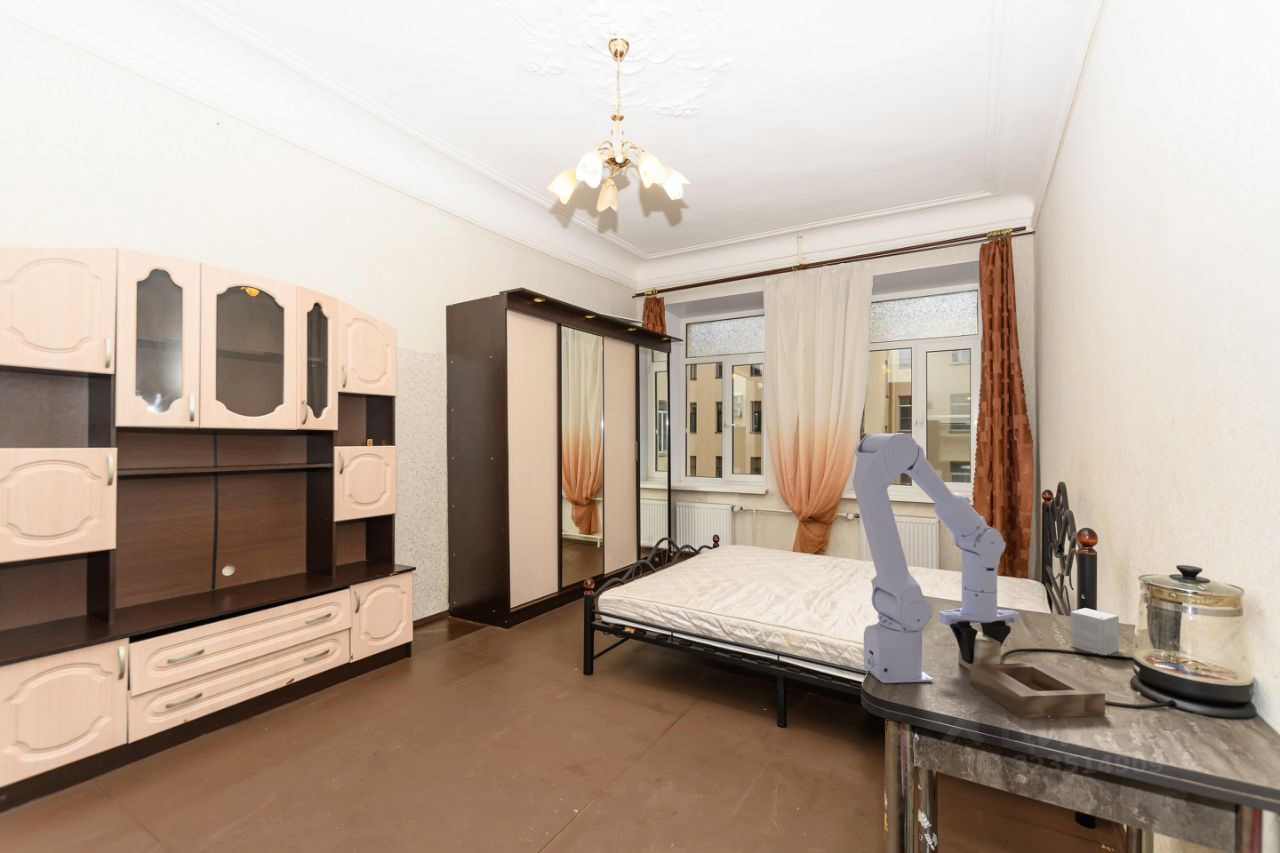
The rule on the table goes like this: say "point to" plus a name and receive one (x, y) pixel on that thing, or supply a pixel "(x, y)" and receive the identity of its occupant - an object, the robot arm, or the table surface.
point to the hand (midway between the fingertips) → (978, 661)
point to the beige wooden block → (983, 651)
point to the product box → (1095, 631)
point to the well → (1037, 690)
